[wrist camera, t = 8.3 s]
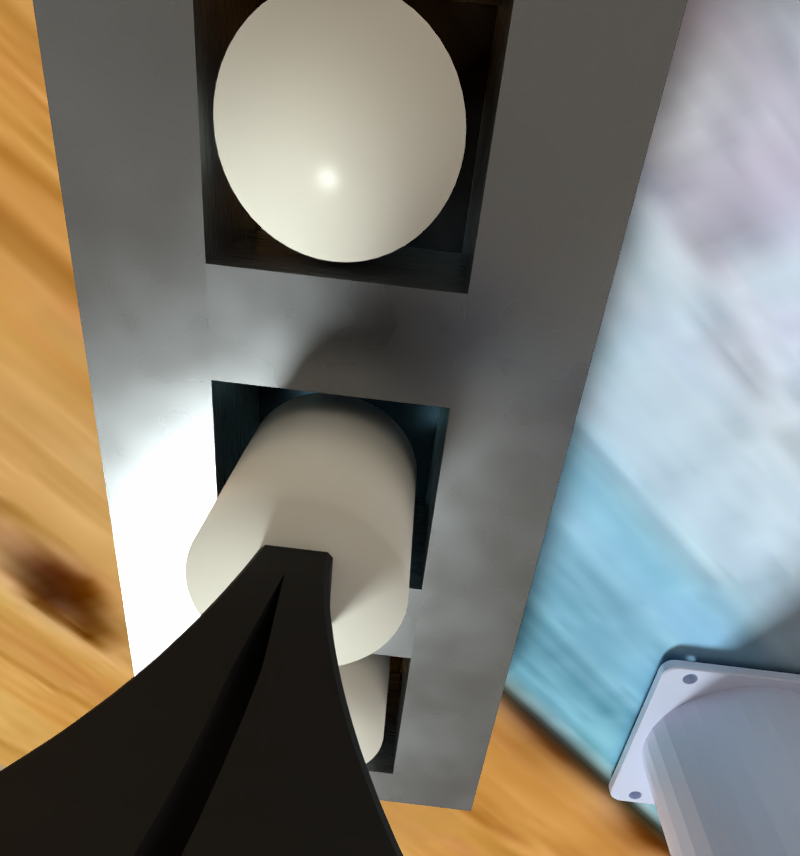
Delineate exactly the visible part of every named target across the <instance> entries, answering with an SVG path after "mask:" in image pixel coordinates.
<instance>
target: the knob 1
mask: <svg viewBox="0 0 800 856" xmlns="http://www.w3.org/2000/svg"><path fill="white" fill-rule="evenodd" d="M213 122H214V132H215V140H216V145H217V150H218V154H219V158H220V161H221V164H222V167H223V170H224V173H225V175H226V177H227V179H228V181H229V184H230V186H231V188H232V190H233V191H234V193H235V195H236V196H237V198H238V200H239V201H240V203H241V204H242V206H243V207H244V208H245V210H246V211H247V212H248V213H249V215H250V216H251V217H252V218H253V219H254V220H255V221H256V222H257V223H258V224H259V225H260V226H261V227H262V229H264V230H265V231H266V232H267V233H269V234H270V235H271V236H272V237H274V238H275V239H276V240H278V241H279V242H281V243H283V244H284V245H286V246H287V247H289V248H291V249H293V250H295V251H297V252H300V253H302V254H304V255H307V256H310V257H314V258H317V259H321V260H327V261H332V262H358V261H365V260H370V259H374V258H378V257H381V256H384V255H386V254H389V253H392V252H393V251H395V250H397V249H399V248H401V247H403V246H405V245H406V244H408V243H409V242H410V241H412V240H413V239H415V238H416V237H417V236H418V235H420V234H421V233H422V232H423V231H424V230H425V229H426V228H427V227H428V226H429V225H430V224H431V223H432V221H433V220H434V219H435V218H436V217H437V215H438V214H439V213H440V211H441V210H442V208H443V207H444V205H445V203H446V202H447V200H448V199H449V197H450V194H451V192H452V190H453V188H454V186H455V184H456V181H457V178H458V175H459V172H460V169H461V165H462V160H463V155H464V150H465V140H466V111H465V105H464V99H463V93H462V89H461V85H460V82H459V78H458V75H457V72H456V70H455V67H454V65H453V63H452V60H451V58H450V56H449V54H448V52H447V50H446V49H445V47H444V45H443V44H442V42H441V40H440V38H439V37H438V36H437V35H436V33H435V32H434V31H433V29H432V28H431V27H430V25H429V24H428V23H427V22H426V21H425V20H424V19H423V18H422V17H421V16H420V15H419V14H418V13H417V12H416V11H415V10H414V9H413V8H411V7H410V6H409V5H407V4H406V3H405V2H403V1H402V0H267V1H266V2H264V3H263V4H262V5H261V6H259V7H258V8H257V9H256V10H255V11H254V12H253V13H252V14H251V15H250V16H249V17H248V18H247V20H246V21H245V22H244V23H243V25H242V26H241V27H240V29H239V30H238V31H237V33H236V35H235V36H234V38H233V40H232V41H231V43H230V45H229V47H228V49H227V51H226V54H225V56H224V59H223V61H222V63H221V67H220V70H219V74H218V78H217V82H216V88H215V95H214V108H213Z"/></svg>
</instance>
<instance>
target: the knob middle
mask: <svg viewBox="0 0 800 856" xmlns="http://www.w3.org/2000/svg"><path fill="white" fill-rule="evenodd" d="M416 473H417V468H416V460H415V456H414V452H413V449H412V446H411V444H410V442H409V440H408V438H407V436H406V435H405V433H404V432H403V430H402V429H401V428H400V427H399V425H398V424H397V423H396V422H395V421H394V420H393V419H392V418H391V417H390V416H389V415H387V414H386V413H385V412H383V411H382V410H381V409H379V408H377V407H376V406H374V405H372V404H371V403H368V402H366V401H364V400H361V399H359V398H355V397H352V396H343V395H335V394H326V393H313V394H308V395H303V396H300V397H297V398H294V399H291V400H289V401H287V402H285V403H283V404H281V405H280V406H278V407H277V408H275V409H274V410H273V411H272V412H270V413H269V414H268V415H267V416H266V417H265V418H264V420H263V421H262V422H261V423H260V425H259V427H258V428H257V430H256V432H255V433H254V435H253V437H252V439H251V440H250V442H249V444H248V446H247V447H246V449H245V451H244V453H243V454H242V456H241V458H240V459H239V461H238V463H237V465H236V466H235V468H234V470H233V472H232V473H231V475H230V477H229V479H228V480H227V482H226V484H225V486H224V487H223V489H222V491H221V493H220V494H219V496H218V498H217V500H216V501H215V503H214V505H213V506H212V508H211V510H210V512H209V513H208V515H207V517H206V519H205V520H204V522H203V524H202V526H201V527H200V529H199V531H198V533H197V534H196V536H195V538H194V540H193V541H192V543H191V545H190V548H189V551H188V554H187V558H186V564H185V578H186V584H187V589H188V592H189V595H190V598H191V600H192V602H193V604H194V606H195V608H196V610H197V611H198V613H199V614H200V615H201V614H202V613H203V612H204V611H205V610H206V609H207V608H208V607H209V606H210V605H211V604H212V603H213V602H214V601H215V600H216V599H217V598H218V597H219V596H220V594H221V593H222V592H223V591H224V590H225V589H226V588H227V587H228V586H229V585H230V583H231V582H232V581H233V580H234V579H235V578H236V577H237V575H238V574H239V573H240V572H241V571H242V570H243V568H244V567H245V566H246V565H247V564H248V562H249V561H250V560H251V559H252V558H253V556H254V555H255V554H256V553H257V551H258V550H259V549H260V548H261V547H263V546H264V545H272V546H280V547H289V548H297V549H305V550H314V551H323V552H328V553H329V554H330V555H331V556H332V557H333V566H332V582H331V598H330V613H331V622H332V629H333V637H334V644H335V650H336V656H337V661H338V666H340V665H345V664H348V663H351V662H354V661H357V660H360V659H362V658H364V657H366V656H368V655H370V654H372V653H373V652H375V651H376V650H378V649H379V648H381V647H382V646H383V645H384V644H385V643H387V642H388V641H389V640H390V638H391V637H392V636H393V635H394V634H395V633H396V631H397V630H398V628H399V626H400V625H401V623H402V621H403V618H404V616H405V614H406V609H407V605H408V595H409V580H410V565H411V550H412V534H413V519H414V504H415V489H416Z"/></svg>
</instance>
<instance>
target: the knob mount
mask: <svg viewBox="0 0 800 856" xmlns="http://www.w3.org/2000/svg"><path fill="white" fill-rule="evenodd" d="M454 1H463V2H472V3H481V4H489V5H498V11H497V17H496V24H495V31H494V38H493V45H492V51H491V58H490V65H489V72H488V79H487V85H486V92H485V99H484V106H483V113H482V119H481V126H480V133H479V140H478V147H477V154H476V160H475V167H474V174H473V181H472V188H471V194H470V201H469V208H468V215H467V222H466V228H465V235H464V242H463V249H462V253H455V252H447V251H438V250H429V249H421V248H412V247H404V246H403V247H401V248H399V249H397V250H395V251H393V252H392V253H389V254H386V255H384V256H381V257H378V258H374V259H370V260H365V261H358V262H332V261H327V260H321V259H317V258H314V257H310V256H307V255H304V254H302V253H300V252H297V251H295V250H293V249H291V248H289V247H287V246H286V245H284V244H283V243H281V242H279V241H278V240H276V239H275V238H274V237H272V236H271V235H270V234H269V233H267V232H266V231H265V230H258V223H257V222H256V221H255V220H254V219H253V218H252V217H251V216H250V215H249V213H248V212H247V211H246V210H245V208H244V207H243V206H242V204H241V203H240V201H239V200H238V198H237V196H236V195H235V193H234V191H233V190H232V188H231V186H230V184H229V181H228V179H227V177H226V175H225V173H224V170H223V167H222V164H221V161H220V158H219V154H218V150H217V145H216V140H215V132H214V122H213V108H214V95H215V88H216V82H217V78H218V74H219V70H220V67H221V63H222V61H223V59H224V56H225V54H226V51H227V49H228V47H229V45H230V43H231V41H232V40H233V38H234V36H235V35H236V33H237V31H238V30H239V29H240V27H241V26H242V25H243V23H244V22H245V21H246V20H247V18H248V17H249V16H250V15H251V14H252V13H253V12H254V11H255V10H256V0H33V5H34V12H35V19H36V25H37V32H38V39H39V45H40V52H41V59H42V65H43V72H44V79H45V85H46V92H47V99H48V105H49V112H50V118H51V125H52V132H53V138H54V145H55V152H56V158H57V165H58V172H59V178H60V185H61V192H62V198H63V205H64V212H65V218H66V225H67V231H68V238H69V245H70V251H71V258H72V265H73V271H74V278H75V285H76V291H77V298H78V305H79V311H80V318H81V325H82V331H83V338H84V344H85V351H86V358H87V364H88V371H89V378H90V384H91V391H92V398H93V404H94V411H95V418H96V424H97V431H98V438H99V444H100V451H101V457H102V464H103V471H104V477H105V484H106V491H107V497H108V504H109V511H110V517H111V524H112V531H113V537H114V544H115V551H116V557H117V564H118V571H119V577H120V584H121V590H122V597H123V604H124V610H125V617H126V624H127V630H128V637H129V644H130V650H131V657H132V664H133V670H134V676H135V675H137V674H138V673H139V672H140V671H141V670H143V669H144V668H145V667H146V666H147V665H148V664H150V663H151V662H152V661H153V660H154V659H155V658H156V657H158V656H159V655H160V654H161V653H162V652H163V651H164V650H165V649H166V648H167V647H168V646H169V645H170V644H171V643H173V642H174V641H175V640H176V639H177V638H178V637H179V636H180V635H181V634H182V633H183V632H184V631H185V630H186V629H187V628H188V627H189V626H191V625H192V624H193V623H194V622H195V621H196V620H197V619H198V618H199V617H200V614H199V613H198V611H197V610H196V608H195V606H194V604H193V602H192V600H191V598H190V595H189V592H188V589H187V584H186V578H185V564H186V558H187V554H188V551H189V548H190V545H191V543H192V541H193V540H194V538H195V536H196V534H197V533H198V531H199V529H200V527H201V526H202V524H203V522H204V520H205V519H206V517H207V515H208V513H209V512H210V510H211V508H212V506H213V505H214V503H215V501H216V500H217V498H218V496H219V494H220V493H221V491H222V489H223V487H224V486H225V484H226V482H227V480H228V479H229V477H230V475H231V473H232V472H233V470H234V468H235V466H236V465H237V463H238V461H239V459H240V458H241V456H242V454H243V453H244V451H245V449H246V447H247V446H248V444H249V442H250V440H251V439H252V437H253V435H254V433H255V432H256V430H257V428H258V427H259V386H267V387H275V388H284V389H292V390H301V391H309V392H318V393H326V394H335V395H343V396H352V397H360V398H369V399H377V400H386V401H394V402H403V403H411V404H420V405H428V406H437V407H439V412H438V419H437V426H436V433H435V439H434V446H433V453H432V460H431V467H430V473H429V480H428V487H427V494H426V501H425V503H418V502H415V504H414V519H413V534H412V550H411V565H410V580H409V595H408V605H407V609H406V614H405V616H404V618H403V621H402V623H401V625H400V626H399V628H398V630H397V631H396V633H395V634H394V635H393V636H392V637H391V638H390V640H389V641H388V642H387V643H385V644H384V645H383V646H382V647H381V648H379V649H378V650H376V651H375V652H373V653H372V654H379V655H387V656H396V657H402V664H401V671H400V674H399V673H391V672H389V681H388V692H387V703H386V714H385V725H384V736H383V742H382V745H381V747H380V750H379V751H378V753H377V754H376V755H375V756H374V757H373V758H372V759H371V760H370V761H369V762H368V763H366V766H367V768H368V771H369V774H370V776H371V779H372V782H373V784H374V787H375V790H376V793H377V795H378V798H379V800H384V801H392V802H401V803H409V804H417V805H425V806H434V807H442V808H450V809H459V810H467V811H471V808H472V805H473V801H474V797H475V793H476V790H477V786H478V782H479V778H480V775H481V771H482V767H483V763H484V760H485V756H486V752H487V748H488V745H489V741H490V737H491V733H492V730H493V726H494V722H495V718H496V715H497V711H498V707H499V703H500V700H501V696H502V692H503V688H504V685H505V681H506V677H507V673H508V670H509V666H510V662H511V659H512V655H513V651H514V647H515V644H516V640H517V636H518V632H519V629H520V625H521V621H522V617H523V614H524V610H525V606H526V602H527V599H528V595H529V591H530V587H531V584H532V580H533V576H534V572H535V569H536V565H537V561H538V557H539V554H540V550H541V546H542V542H543V539H544V535H545V531H546V527H547V524H548V520H549V516H550V512H551V509H552V505H553V501H554V497H555V494H556V490H557V486H558V482H559V479H560V475H561V471H562V467H563V464H564V460H565V456H566V452H567V449H568V445H569V441H570V437H571V434H572V430H573V426H574V422H575V419H576V415H577V411H578V407H579V404H580V400H581V396H582V392H583V389H584V385H585V381H586V377H587V374H588V370H589V366H590V362H591V359H592V355H593V351H594V348H595V344H596V340H597V336H598V333H599V329H600V325H601V321H602V318H603V314H604V310H605V306H606V303H607V299H608V295H609V291H610V288H611V284H612V280H613V276H614V273H615V269H616V265H617V261H618V258H619V254H620V250H621V246H622V243H623V239H624V235H625V231H626V228H627V224H628V220H629V216H630V213H631V209H632V205H633V201H634V198H635V194H636V190H637V186H638V183H639V179H640V175H641V171H642V168H643V164H644V160H645V156H646V153H647V149H648V145H649V141H650V138H651V134H652V130H653V126H654V123H655V119H656V115H657V111H658V108H659V104H660V100H661V96H662V93H663V89H664V85H665V81H666V78H667V74H668V70H669V66H670V63H671V59H672V55H673V51H674V48H675V44H676V40H677V37H678V33H679V29H680V25H681V22H682V18H683V14H684V10H685V7H686V3H687V0H454Z"/></svg>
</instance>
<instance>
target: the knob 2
mask: <svg viewBox="0 0 800 856" xmlns="http://www.w3.org/2000/svg"><path fill="white" fill-rule="evenodd" d="M390 659H391V656H387V655H379V654H370V655H368V656H366V657H364V658H362V659H360V660H357V661H354V662H351V663H348V664H345V665H340V666H339V671H340V676H341V680H342V685H343V689H344V693H345V697H346V701H347V705H348V708H349V712H350V716H351V719H352V723H353V726H354V729H355V733H356V736H357V739H358V742H359V745H360V749H361V752H362V755H363V757H364V760H365V763H368V762H369V761H370V760H371V759H372V758H373V757H374V756H375V755H376V754H377V753H378V751H379V750H380V747H381V745H382V742H383V736H384V725H385V714H386V703H387V692H388V681H389V670H390Z"/></svg>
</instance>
